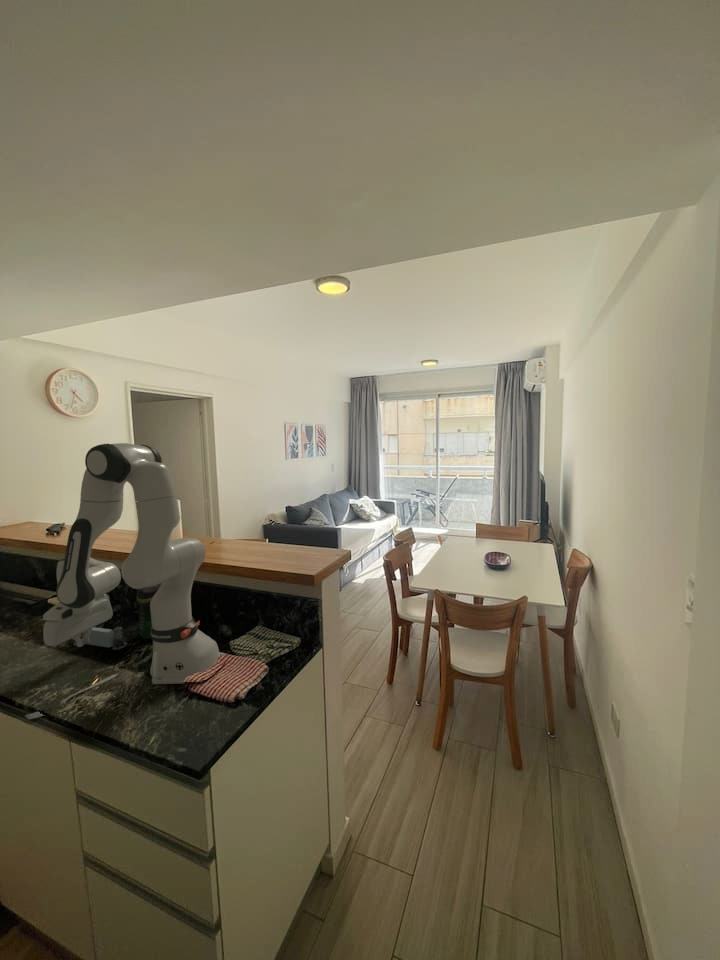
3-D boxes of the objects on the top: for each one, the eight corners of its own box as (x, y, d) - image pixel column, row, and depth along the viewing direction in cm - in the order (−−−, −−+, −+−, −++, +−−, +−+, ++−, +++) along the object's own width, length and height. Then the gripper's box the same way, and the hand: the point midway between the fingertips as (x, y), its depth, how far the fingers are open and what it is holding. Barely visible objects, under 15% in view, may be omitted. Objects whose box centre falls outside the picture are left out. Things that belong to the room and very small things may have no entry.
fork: (127, 672, 115) (127, 666, 115) (29, 726, 94) (29, 719, 94) (121, 669, 116) (121, 664, 116) (24, 722, 95) (23, 715, 95)
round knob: (92, 640, 135) (90, 622, 134) (80, 646, 130) (78, 629, 130) (82, 639, 136) (80, 622, 135) (70, 645, 131) (68, 628, 131)
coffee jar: (145, 642, 132) (140, 591, 130) (137, 635, 137) (132, 586, 135) (173, 631, 139) (169, 582, 137) (164, 625, 144) (160, 578, 143)
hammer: (131, 642, 132) (129, 625, 131) (119, 650, 127) (118, 632, 126) (115, 641, 133) (113, 623, 133) (103, 648, 128) (101, 630, 128)
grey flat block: (82, 643, 131) (81, 628, 131) (88, 640, 133) (86, 626, 133) (109, 647, 128) (107, 632, 128) (114, 644, 130) (112, 629, 129)
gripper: (100, 590, 132) (105, 628, 133) (36, 617, 112) (43, 661, 113) (114, 591, 130) (119, 630, 131) (52, 618, 110) (58, 663, 112)
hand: (83, 644), depth 122 cm, fingers closed
